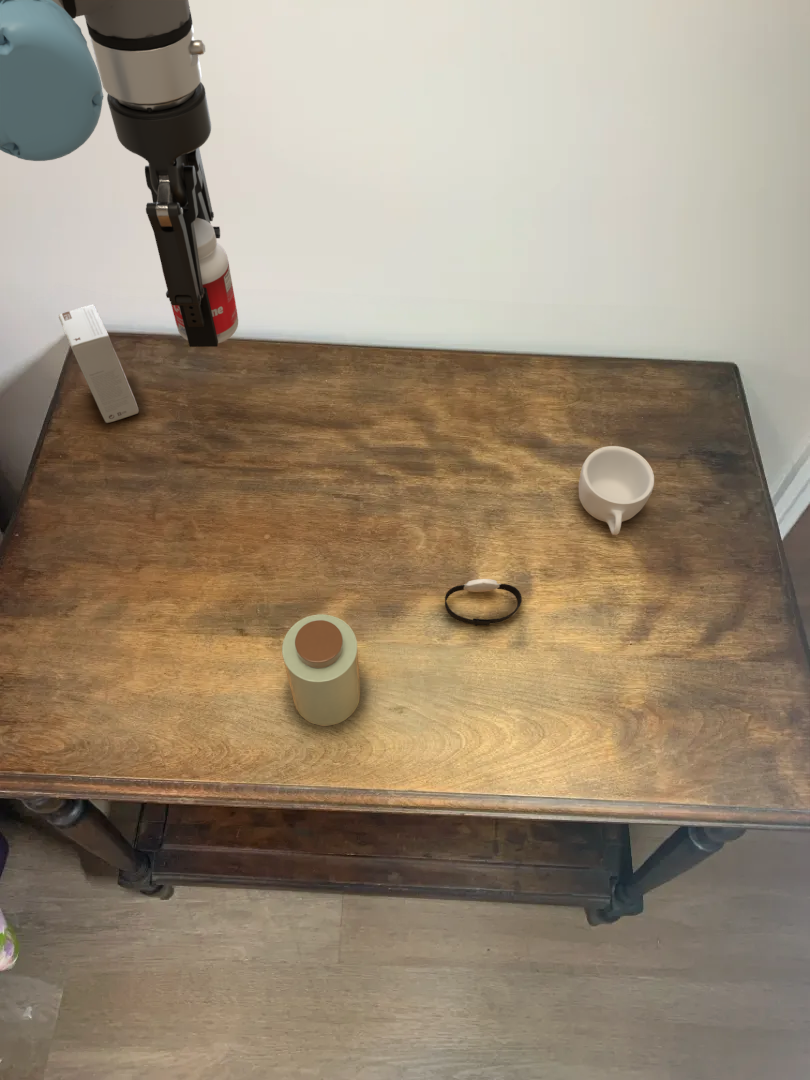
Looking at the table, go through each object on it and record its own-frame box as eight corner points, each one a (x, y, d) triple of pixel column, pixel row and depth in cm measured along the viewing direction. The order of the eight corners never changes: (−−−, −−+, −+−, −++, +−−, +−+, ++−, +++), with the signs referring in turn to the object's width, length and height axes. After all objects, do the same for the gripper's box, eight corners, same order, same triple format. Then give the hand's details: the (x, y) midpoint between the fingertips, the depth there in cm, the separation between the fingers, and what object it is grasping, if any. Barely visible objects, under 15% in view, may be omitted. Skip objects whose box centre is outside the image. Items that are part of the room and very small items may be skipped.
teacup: (572, 473, 93) (581, 443, 88) (639, 479, 93) (652, 449, 88) (573, 546, 87) (583, 517, 83) (645, 552, 87) (659, 524, 82)
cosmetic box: (141, 413, 97) (112, 335, 87) (104, 425, 96) (70, 348, 85) (126, 379, 100) (96, 300, 90) (90, 391, 99) (56, 313, 88)
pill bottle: (172, 346, 81) (146, 251, 72) (184, 305, 84) (161, 210, 75) (234, 349, 81) (216, 255, 72) (244, 308, 84) (227, 213, 75)
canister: (291, 726, 75) (278, 676, 66) (294, 663, 79) (282, 607, 70) (360, 725, 76) (356, 675, 66) (360, 662, 79) (357, 606, 70)
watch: (516, 587, 84) (520, 569, 81) (521, 628, 82) (526, 610, 79) (442, 590, 84) (444, 571, 81) (445, 630, 81) (447, 613, 78)
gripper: (189, 156, 58) (237, 388, 77) (215, 28, 68) (251, 260, 87) (82, 155, 57) (157, 389, 76) (125, 27, 68) (181, 260, 87)
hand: (207, 320), depth 82 cm, fingers closed on pill bottle, 6 cm apart
